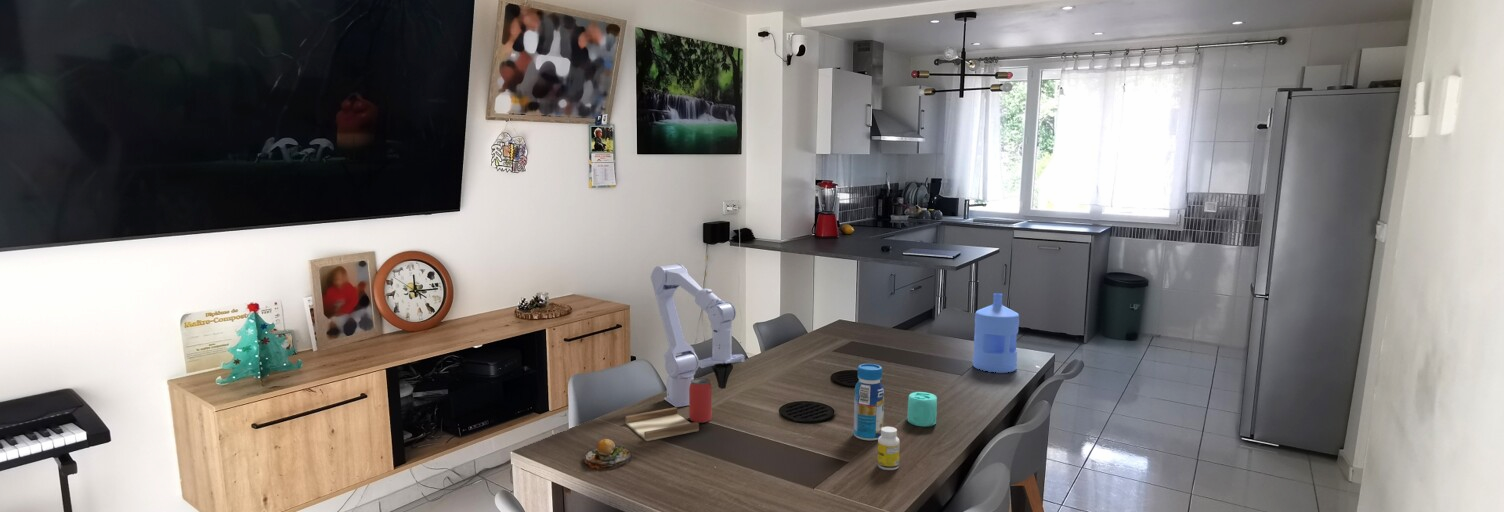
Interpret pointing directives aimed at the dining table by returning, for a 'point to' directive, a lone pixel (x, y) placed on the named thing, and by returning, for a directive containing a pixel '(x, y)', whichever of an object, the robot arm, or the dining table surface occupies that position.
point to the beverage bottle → (868, 403)
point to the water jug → (996, 338)
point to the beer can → (700, 400)
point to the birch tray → (660, 424)
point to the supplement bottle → (888, 449)
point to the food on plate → (608, 456)
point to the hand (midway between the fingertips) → (722, 387)
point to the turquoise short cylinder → (922, 409)
